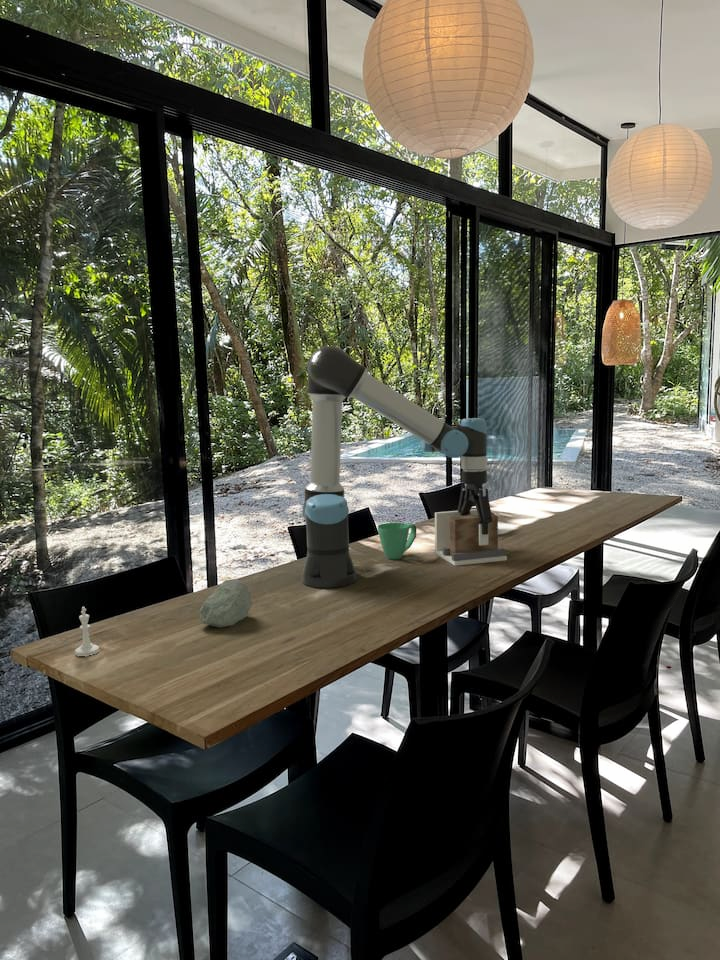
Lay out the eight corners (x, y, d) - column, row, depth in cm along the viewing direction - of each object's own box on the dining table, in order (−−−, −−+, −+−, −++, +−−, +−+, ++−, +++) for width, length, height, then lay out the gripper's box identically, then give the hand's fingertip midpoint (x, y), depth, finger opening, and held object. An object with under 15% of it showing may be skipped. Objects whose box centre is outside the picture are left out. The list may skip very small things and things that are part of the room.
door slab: (455, 558, 214) (455, 519, 212) (450, 555, 218) (449, 517, 216) (497, 554, 218) (497, 515, 216) (491, 551, 222) (491, 513, 220)
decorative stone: (241, 608, 178) (214, 580, 175) (267, 600, 170) (240, 571, 167) (212, 648, 169) (184, 619, 166) (239, 642, 162) (210, 612, 159)
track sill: (454, 565, 211) (454, 522, 209) (434, 553, 226) (434, 512, 224) (506, 560, 216) (507, 517, 214) (483, 548, 231) (483, 508, 229)
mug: (394, 563, 216) (393, 530, 214) (371, 557, 223) (370, 526, 221) (426, 553, 226) (426, 522, 224) (403, 548, 233) (403, 518, 231)
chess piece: (102, 647, 154) (98, 602, 153) (95, 656, 150) (91, 610, 148) (79, 648, 154) (75, 603, 153) (71, 657, 149) (67, 611, 148)
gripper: (504, 473, 203) (504, 547, 206) (468, 465, 226) (469, 531, 229) (480, 475, 201) (480, 550, 204) (446, 466, 224) (447, 533, 227)
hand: (474, 540), depth 217 cm, fingers open, 12 cm apart
